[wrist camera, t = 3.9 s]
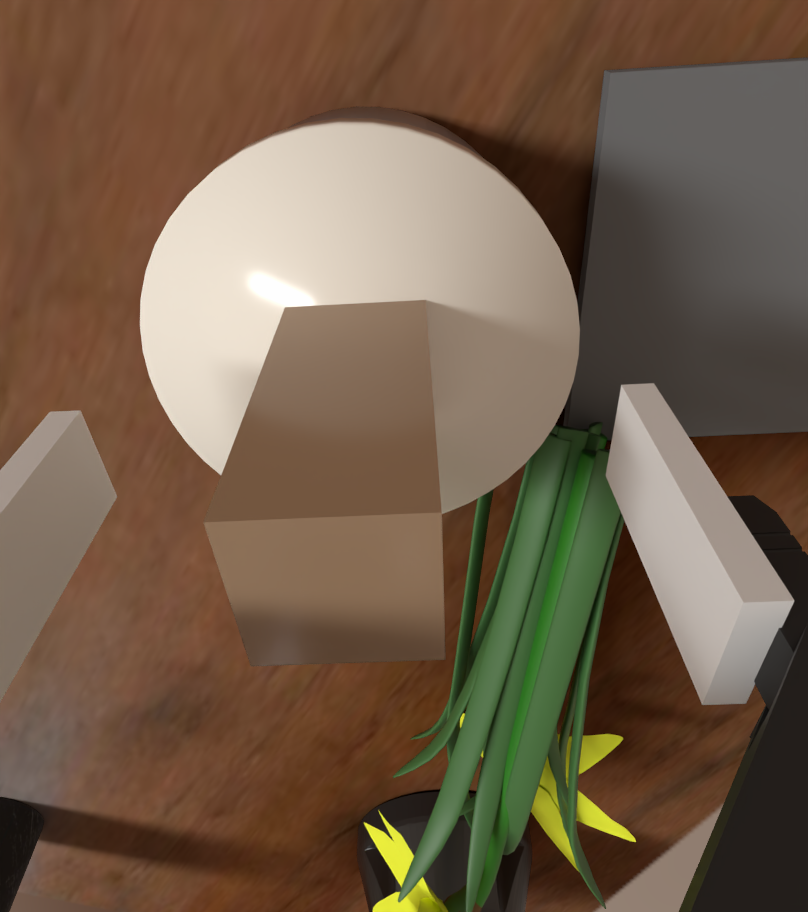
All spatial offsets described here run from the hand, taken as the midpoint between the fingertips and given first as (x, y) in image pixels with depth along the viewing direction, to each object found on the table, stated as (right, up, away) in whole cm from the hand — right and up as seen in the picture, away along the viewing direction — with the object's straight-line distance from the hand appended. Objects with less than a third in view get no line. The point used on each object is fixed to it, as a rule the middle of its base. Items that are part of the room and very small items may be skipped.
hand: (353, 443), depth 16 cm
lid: (0, +3, +4) cm, 5 cm away
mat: (+15, +7, +10) cm, 19 cm away
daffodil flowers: (+6, -9, +22) cm, 25 cm away
